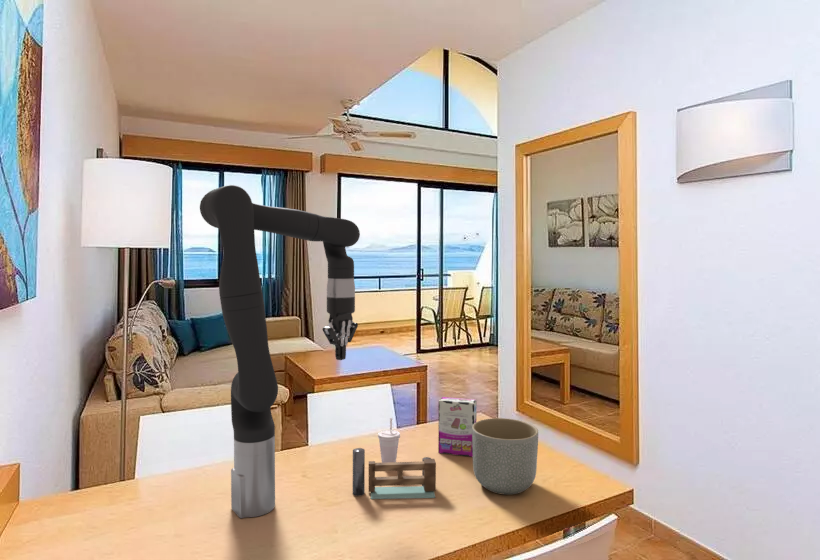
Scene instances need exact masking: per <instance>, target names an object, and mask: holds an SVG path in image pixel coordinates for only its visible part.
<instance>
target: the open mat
mask: <svg viewBox="0 0 820 560" xmlns="http://www.w3.org/2000/svg"><path fill="white" fill-rule="evenodd" d="M387 499H389V500H391V499H393V500H394V499H398V500H399V499H436V495H435V491H424V487H423V486H422V485H421V486H420V485H408V486H375V492H370V500H387Z"/></svg>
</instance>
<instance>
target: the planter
mask: <svg viewBox="0 0 820 560" xmlns="http://www.w3.org/2000/svg"><path fill="white" fill-rule="evenodd" d="M472 448H473V457H472V468H473V473H474V476H475V478H476V480H477V482H478V483H479V484H480V485H481V486H482V487H484V488H485V489H487V490H488V491H490V492H492V493H496V494H499V495H517V494H520V493H522V492H523V493H524V491H526V490H527V489H529V488H530V487H532V485H533V483H534V481H535V479H536V475H537V469H538V468H537V467H538V466H537V465H538V464H537V463H538V449H539V430H538V428H537V427H536V426H535V425H533V424H531V423H529V422H526V421H522V420H519V419H514V418H506V417H505V418H504V417H498V418H497V417H496V418H485V419H480V420H478V421H476V423H474V424H473V426H472Z"/></svg>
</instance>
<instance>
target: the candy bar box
mask: <svg viewBox="0 0 820 560" xmlns="http://www.w3.org/2000/svg"><path fill="white" fill-rule="evenodd" d="M477 401H478V400H477V399H473V398H461V397H460V398H459V397H448V396H447V397H446V396H442V397H440V399H439V400H438V408H437V409H438V434H437V435H438V436H437V437H438V439H437V440H438V443H437V445H438V447H437V450H438V454H441V455H442V454H443V455H450V456H462V457H468V458H470V457H471V458H473V448H472V426H473V424H474V423H476V422H477V409H478V408H477V406H478V405H477Z"/></svg>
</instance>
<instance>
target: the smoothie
mask: <svg viewBox="0 0 820 560" xmlns="http://www.w3.org/2000/svg"><path fill="white" fill-rule="evenodd" d="M400 438H401V432H399V431H398V430H395V429H393V418H392V417H390V418H389V429H385V430H384V429H383V430H381V431H379V432H378V433H377V439H378V440H379V449H380V450H379V451H380V459H381V463H383V462H397V459H398V458H397V457H398V449H399V440H400Z"/></svg>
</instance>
